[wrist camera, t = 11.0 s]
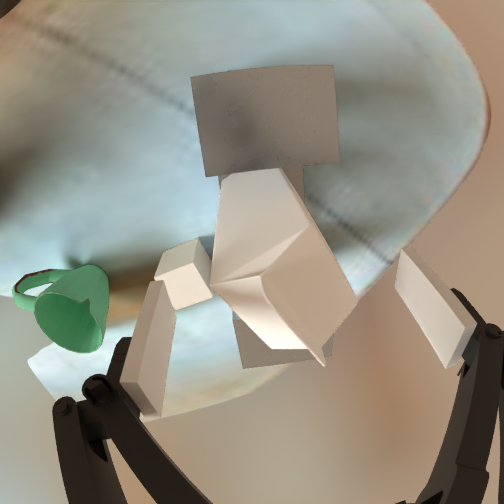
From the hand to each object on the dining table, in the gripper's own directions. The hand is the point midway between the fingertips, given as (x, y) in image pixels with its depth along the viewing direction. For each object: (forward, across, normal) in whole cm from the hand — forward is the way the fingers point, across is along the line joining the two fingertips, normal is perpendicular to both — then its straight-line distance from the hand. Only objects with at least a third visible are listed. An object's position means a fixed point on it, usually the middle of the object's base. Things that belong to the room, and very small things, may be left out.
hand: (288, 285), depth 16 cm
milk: (+18, 0, -1) cm, 19 cm away
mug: (+21, -27, -10) cm, 35 cm away
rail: (+20, 0, -1) cm, 20 cm away
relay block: (+20, -10, -10) cm, 25 cm away
